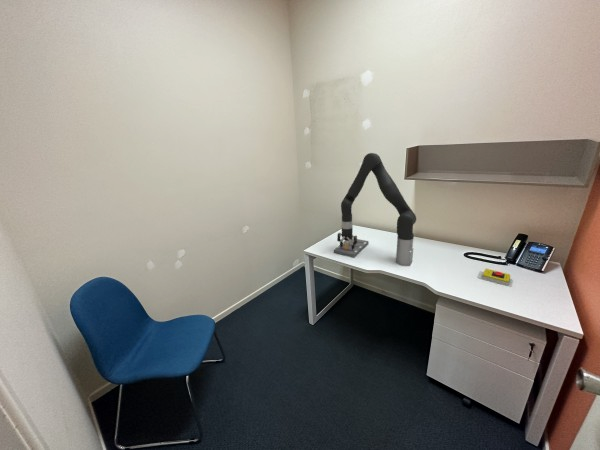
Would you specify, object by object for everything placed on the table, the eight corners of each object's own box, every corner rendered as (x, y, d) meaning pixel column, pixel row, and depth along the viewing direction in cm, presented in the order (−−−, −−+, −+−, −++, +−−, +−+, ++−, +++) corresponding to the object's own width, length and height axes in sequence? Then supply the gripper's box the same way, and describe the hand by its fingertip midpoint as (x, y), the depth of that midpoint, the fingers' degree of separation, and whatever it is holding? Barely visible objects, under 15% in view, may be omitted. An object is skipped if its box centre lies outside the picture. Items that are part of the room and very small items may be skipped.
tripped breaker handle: (348, 248, 179) (348, 243, 177) (347, 249, 177) (347, 243, 176) (346, 248, 180) (345, 242, 178) (345, 249, 179) (344, 243, 177)
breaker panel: (368, 244, 191) (368, 235, 188) (354, 257, 171) (354, 248, 169) (349, 240, 200) (349, 231, 198) (333, 253, 180) (333, 243, 178)
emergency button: (513, 280, 128) (477, 271, 137) (511, 288, 129) (476, 278, 139) (514, 273, 134) (481, 265, 144) (513, 280, 135) (479, 271, 145)
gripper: (358, 226, 172) (358, 248, 177) (340, 223, 180) (340, 244, 185) (354, 230, 166) (354, 252, 171) (335, 226, 174) (335, 248, 179)
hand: (347, 248), depth 178 cm, fingers open, 8 cm apart
